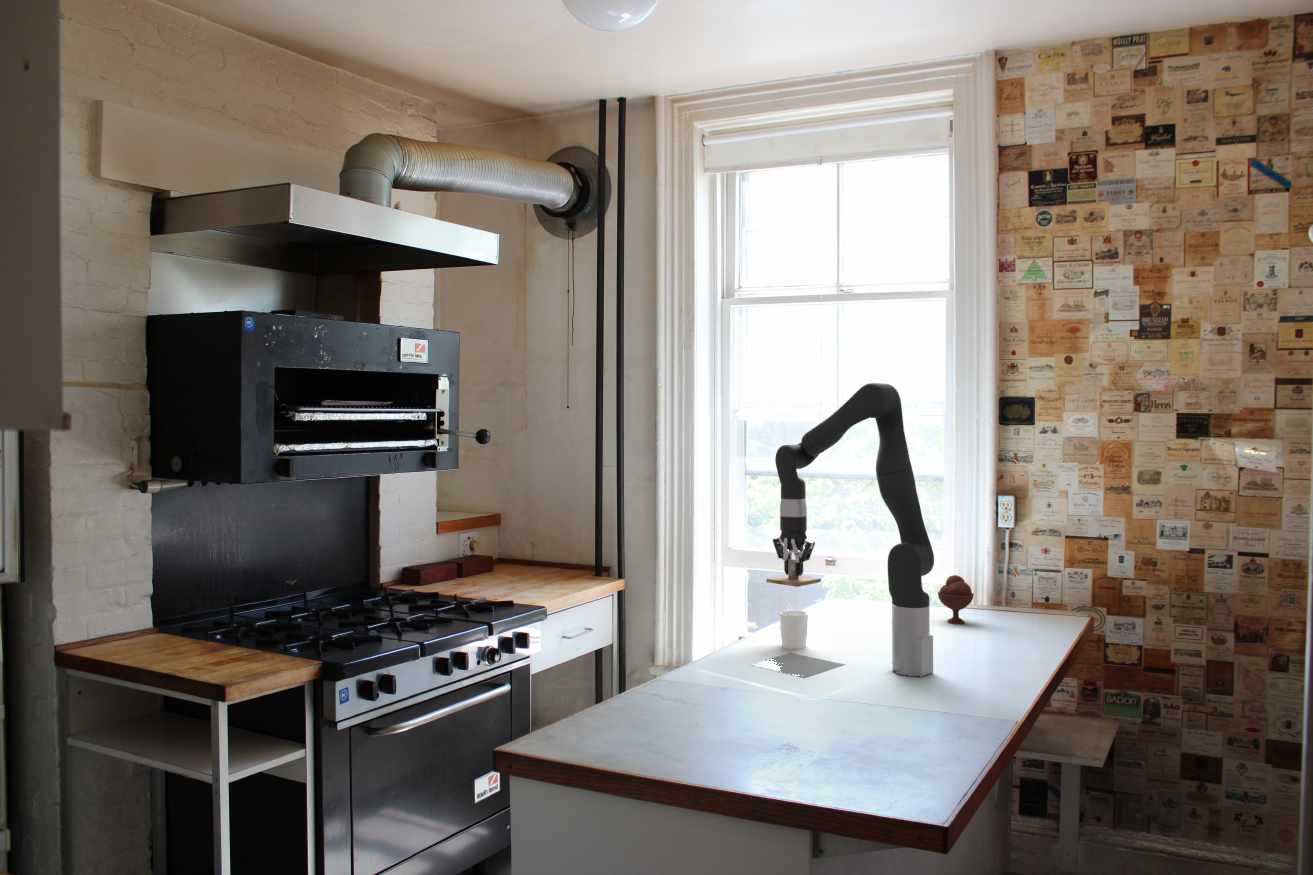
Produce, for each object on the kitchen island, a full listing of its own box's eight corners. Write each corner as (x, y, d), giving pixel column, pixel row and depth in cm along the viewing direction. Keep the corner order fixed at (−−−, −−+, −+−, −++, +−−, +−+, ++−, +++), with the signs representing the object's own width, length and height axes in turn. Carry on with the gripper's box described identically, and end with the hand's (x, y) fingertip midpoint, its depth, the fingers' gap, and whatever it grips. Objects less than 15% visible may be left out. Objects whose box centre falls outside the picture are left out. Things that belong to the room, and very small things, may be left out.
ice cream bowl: (930, 620, 286) (930, 574, 286) (957, 617, 291) (956, 572, 291) (954, 627, 277) (954, 579, 277) (981, 623, 281) (981, 576, 281)
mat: (845, 666, 231) (845, 664, 231) (804, 679, 219) (804, 677, 219) (790, 654, 244) (790, 652, 244) (748, 666, 232) (748, 664, 232)
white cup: (799, 652, 247) (799, 616, 247) (775, 648, 251) (774, 613, 251) (812, 646, 253) (812, 612, 253) (788, 643, 258) (788, 608, 258)
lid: (821, 581, 252) (820, 559, 252) (797, 586, 244) (797, 563, 244) (789, 577, 260) (789, 555, 260) (766, 582, 252) (766, 559, 252)
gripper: (821, 515, 250) (821, 576, 250) (781, 512, 260) (782, 570, 260) (805, 516, 244) (805, 579, 244) (765, 513, 254) (766, 573, 254)
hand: (793, 574), depth 252 cm, fingers closed on lid, 3 cm apart
